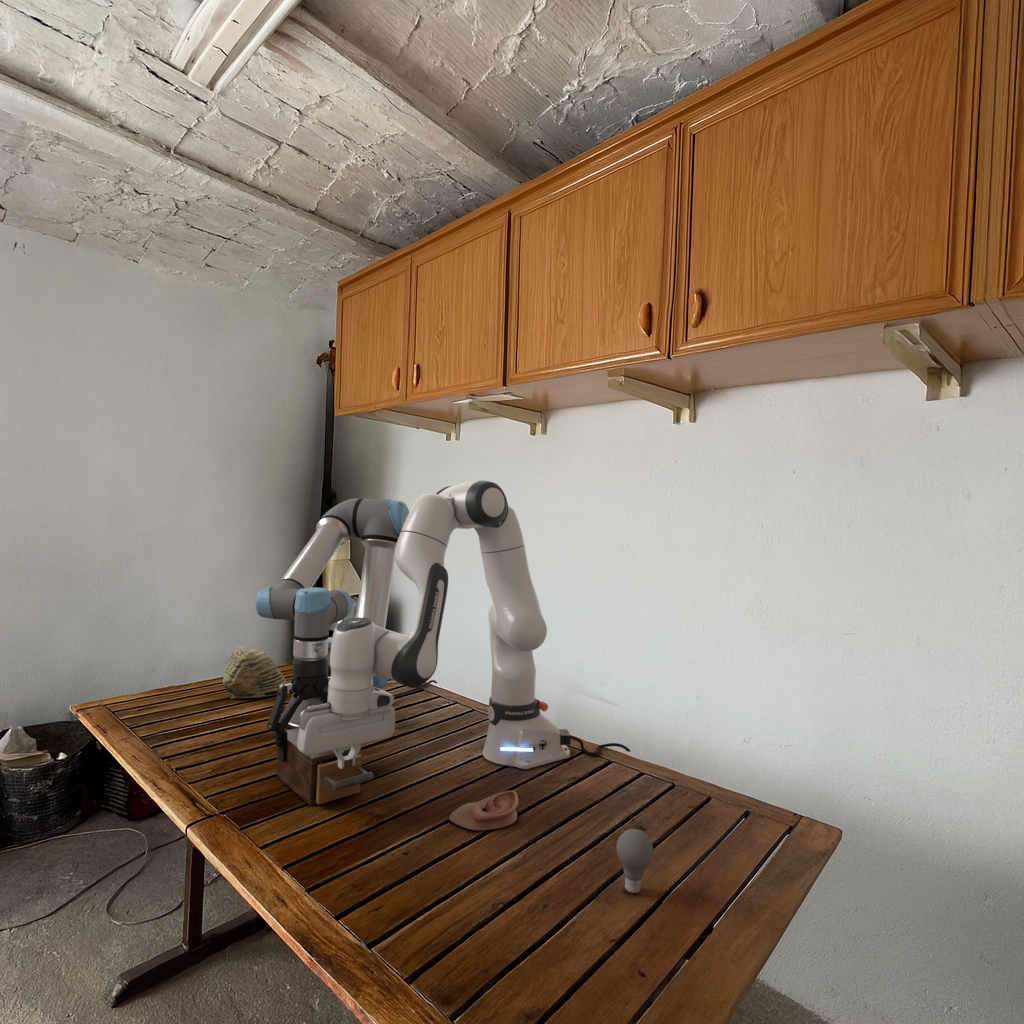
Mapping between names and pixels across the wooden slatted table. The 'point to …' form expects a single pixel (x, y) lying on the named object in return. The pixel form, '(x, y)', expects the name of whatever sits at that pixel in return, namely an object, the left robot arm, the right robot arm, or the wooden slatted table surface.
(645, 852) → the light bulb
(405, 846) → the wooden slatted table surface
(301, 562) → the left robot arm
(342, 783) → the drawer
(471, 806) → the anatomical model
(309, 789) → the cabinet
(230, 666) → the fossil
